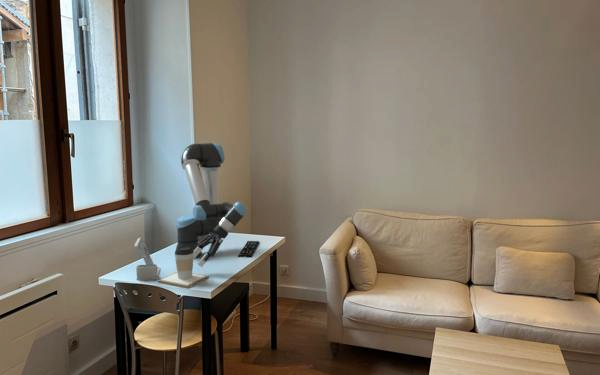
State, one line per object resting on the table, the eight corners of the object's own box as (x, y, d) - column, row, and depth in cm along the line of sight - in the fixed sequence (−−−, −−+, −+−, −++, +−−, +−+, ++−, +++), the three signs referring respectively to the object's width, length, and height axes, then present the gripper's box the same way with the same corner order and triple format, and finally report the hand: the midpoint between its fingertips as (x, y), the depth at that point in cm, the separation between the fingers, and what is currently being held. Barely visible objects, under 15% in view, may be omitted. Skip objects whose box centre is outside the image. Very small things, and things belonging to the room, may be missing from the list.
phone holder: (157, 279, 221) (155, 243, 219) (135, 280, 219) (133, 244, 217) (160, 268, 238) (159, 235, 236) (140, 269, 236) (138, 236, 233)
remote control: (238, 258, 258) (238, 254, 258) (247, 243, 290) (247, 240, 290) (251, 258, 258) (251, 255, 258) (259, 243, 290) (259, 240, 289)
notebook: (157, 282, 217) (157, 280, 217) (179, 272, 231) (179, 270, 231) (187, 288, 209) (187, 285, 209) (208, 277, 224) (208, 275, 224)
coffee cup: (177, 281, 215) (176, 251, 213) (173, 275, 223) (172, 246, 221) (196, 278, 219) (195, 248, 217) (191, 272, 227) (190, 244, 225)
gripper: (237, 238, 218) (208, 273, 213) (220, 227, 240) (193, 259, 235) (226, 229, 215) (197, 264, 210) (210, 219, 236) (183, 251, 231)
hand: (195, 261), depth 222 cm, fingers open, 13 cm apart
